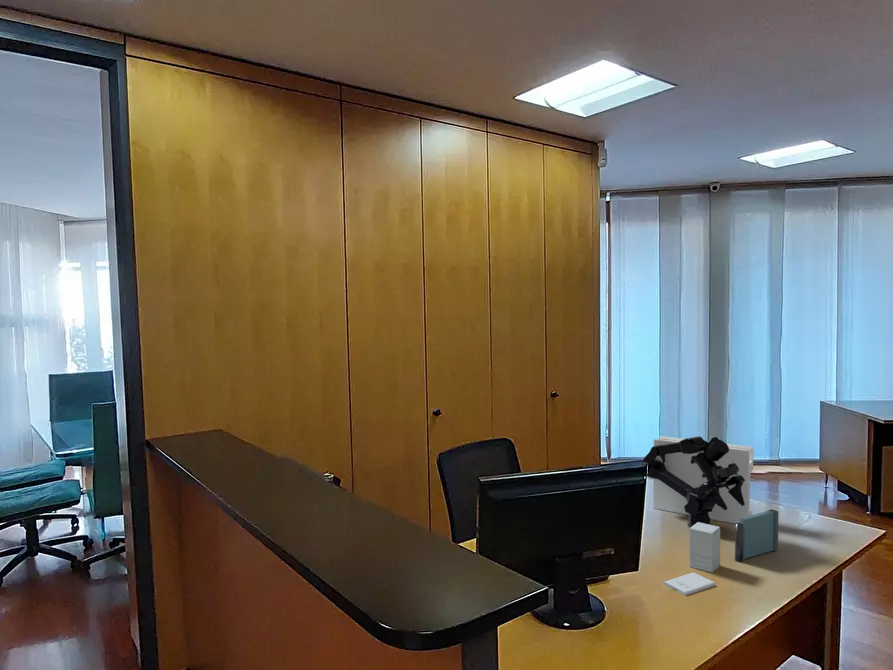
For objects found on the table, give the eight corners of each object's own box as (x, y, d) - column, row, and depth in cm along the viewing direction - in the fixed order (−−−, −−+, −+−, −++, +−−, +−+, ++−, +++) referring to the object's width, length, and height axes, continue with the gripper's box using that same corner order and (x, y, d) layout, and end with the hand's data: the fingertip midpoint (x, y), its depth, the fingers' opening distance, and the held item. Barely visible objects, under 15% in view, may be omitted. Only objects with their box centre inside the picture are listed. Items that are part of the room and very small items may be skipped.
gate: (745, 559, 205) (745, 519, 204) (738, 556, 207) (739, 517, 206) (777, 549, 212) (778, 511, 211) (771, 547, 214) (771, 509, 213)
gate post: (736, 561, 204) (736, 525, 203) (733, 558, 206) (734, 522, 206) (744, 562, 204) (744, 525, 203) (741, 559, 206) (742, 522, 205)
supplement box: (720, 565, 202) (721, 526, 201) (712, 573, 196) (712, 533, 195) (697, 559, 207) (697, 521, 206) (688, 566, 201) (688, 527, 200)
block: (653, 508, 256) (653, 439, 254) (659, 503, 262) (660, 435, 261) (747, 525, 235) (748, 450, 233) (752, 519, 241) (753, 446, 240)
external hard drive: (715, 587, 188) (685, 597, 182) (692, 576, 195) (663, 586, 190) (715, 582, 188) (685, 592, 182) (692, 571, 195) (663, 580, 189)
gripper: (704, 459, 218) (731, 500, 209) (741, 452, 226) (768, 491, 217) (685, 476, 225) (710, 516, 216) (721, 468, 234) (747, 507, 225)
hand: (735, 507), depth 219 cm, fingers open, 8 cm apart
